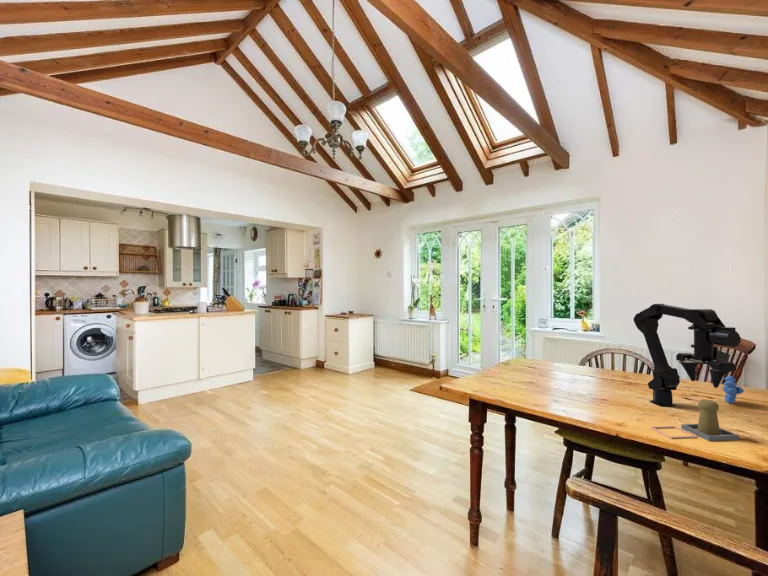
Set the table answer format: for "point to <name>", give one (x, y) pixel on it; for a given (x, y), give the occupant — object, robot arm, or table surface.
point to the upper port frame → (673, 436)
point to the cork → (708, 417)
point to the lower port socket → (724, 435)
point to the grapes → (731, 389)
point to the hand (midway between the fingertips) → (704, 384)
